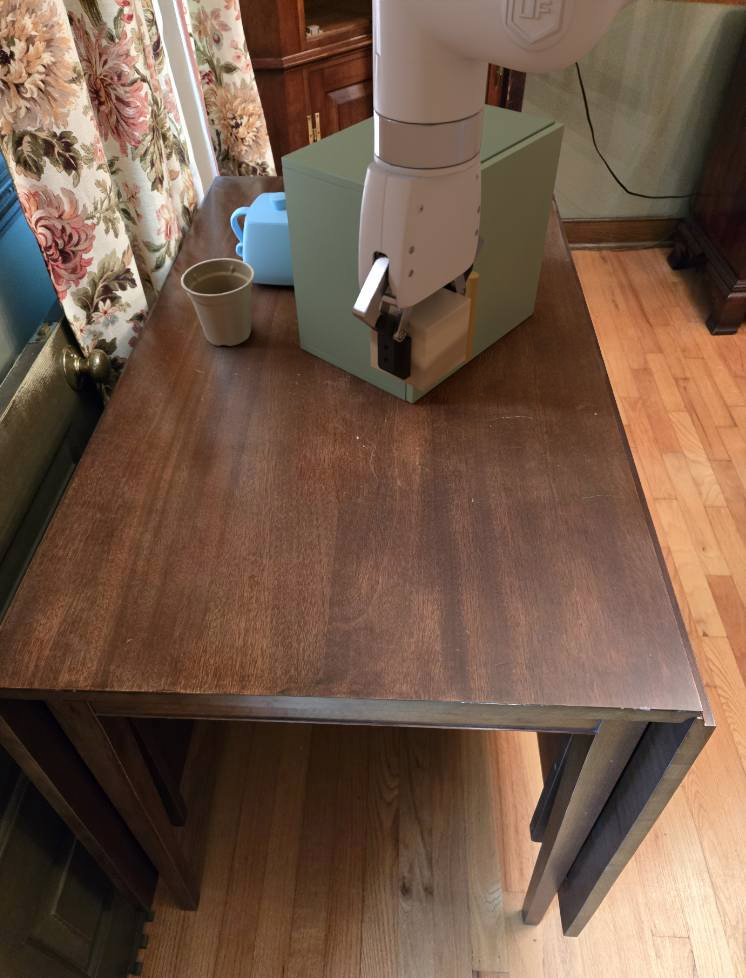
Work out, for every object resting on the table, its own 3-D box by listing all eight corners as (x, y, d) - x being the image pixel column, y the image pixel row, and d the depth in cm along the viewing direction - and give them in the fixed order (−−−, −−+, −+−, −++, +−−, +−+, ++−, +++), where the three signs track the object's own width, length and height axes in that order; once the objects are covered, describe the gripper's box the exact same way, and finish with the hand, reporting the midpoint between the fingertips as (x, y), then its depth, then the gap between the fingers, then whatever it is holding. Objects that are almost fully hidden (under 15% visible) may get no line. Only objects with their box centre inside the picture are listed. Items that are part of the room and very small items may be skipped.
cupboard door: (568, 327, 97) (609, 134, 79) (449, 422, 84) (465, 220, 67) (527, 311, 100) (557, 122, 82) (406, 400, 88) (411, 201, 70)
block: (465, 360, 65) (471, 298, 60) (423, 391, 62) (426, 329, 57) (412, 336, 67) (414, 276, 63) (370, 366, 65) (369, 305, 60)
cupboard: (525, 311, 100) (555, 120, 82) (405, 401, 88) (410, 199, 70) (422, 271, 109) (430, 90, 91) (300, 348, 96) (281, 157, 79)
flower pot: (239, 361, 95) (228, 301, 89) (180, 345, 98) (166, 286, 92) (275, 324, 101) (267, 265, 94) (218, 311, 104) (207, 253, 97)
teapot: (347, 296, 105) (343, 217, 96) (227, 290, 108) (214, 212, 99) (360, 255, 113) (358, 178, 104) (249, 250, 116) (238, 175, 107)
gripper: (457, 90, 56) (443, 301, 70) (302, 161, 48) (320, 384, 62) (541, 109, 53) (509, 328, 66) (388, 190, 45) (387, 420, 58)
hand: (418, 353), depth 64 cm, fingers closed on block, 6 cm apart
